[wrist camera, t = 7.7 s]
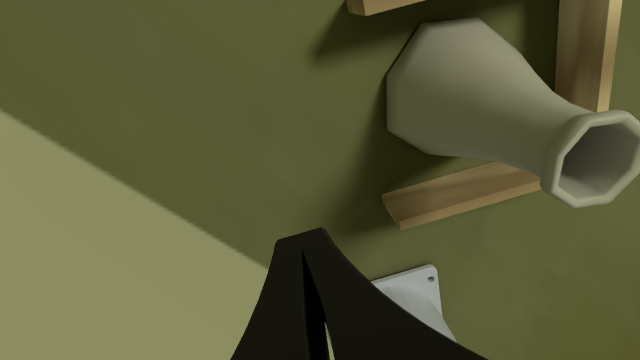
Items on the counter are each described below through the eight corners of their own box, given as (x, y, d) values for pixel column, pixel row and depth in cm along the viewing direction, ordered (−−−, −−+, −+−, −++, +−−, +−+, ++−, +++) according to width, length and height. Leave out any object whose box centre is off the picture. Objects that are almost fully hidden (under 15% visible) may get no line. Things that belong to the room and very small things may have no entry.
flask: (479, 161, 23) (626, 271, 14) (364, 141, 21) (450, 251, 12) (534, 34, 20) (766, 68, 11) (408, -3, 18) (562, 3, 9)
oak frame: (560, 151, 23) (600, 171, 20) (382, 202, 23) (400, 230, 20) (575, -63, 18) (631, -72, 15) (345, -2, 18) (362, -1, 15)
